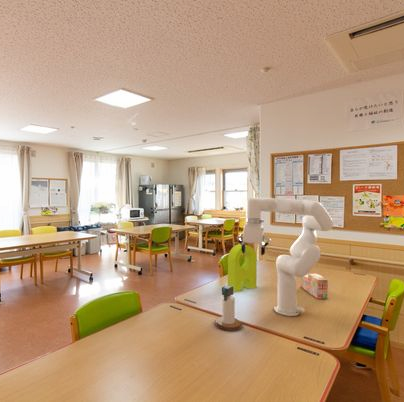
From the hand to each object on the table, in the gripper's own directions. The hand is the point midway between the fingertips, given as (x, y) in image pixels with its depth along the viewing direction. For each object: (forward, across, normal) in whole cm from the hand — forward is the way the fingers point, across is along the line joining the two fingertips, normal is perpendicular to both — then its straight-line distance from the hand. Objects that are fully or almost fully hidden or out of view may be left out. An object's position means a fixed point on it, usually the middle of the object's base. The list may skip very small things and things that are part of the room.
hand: (253, 253), depth 153 cm
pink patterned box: (+34, -24, -59) cm, 73 cm away
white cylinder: (+33, +8, +15) cm, 37 cm away
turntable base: (+34, +8, +15) cm, 38 cm away
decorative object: (+34, +18, -43) cm, 58 cm away
